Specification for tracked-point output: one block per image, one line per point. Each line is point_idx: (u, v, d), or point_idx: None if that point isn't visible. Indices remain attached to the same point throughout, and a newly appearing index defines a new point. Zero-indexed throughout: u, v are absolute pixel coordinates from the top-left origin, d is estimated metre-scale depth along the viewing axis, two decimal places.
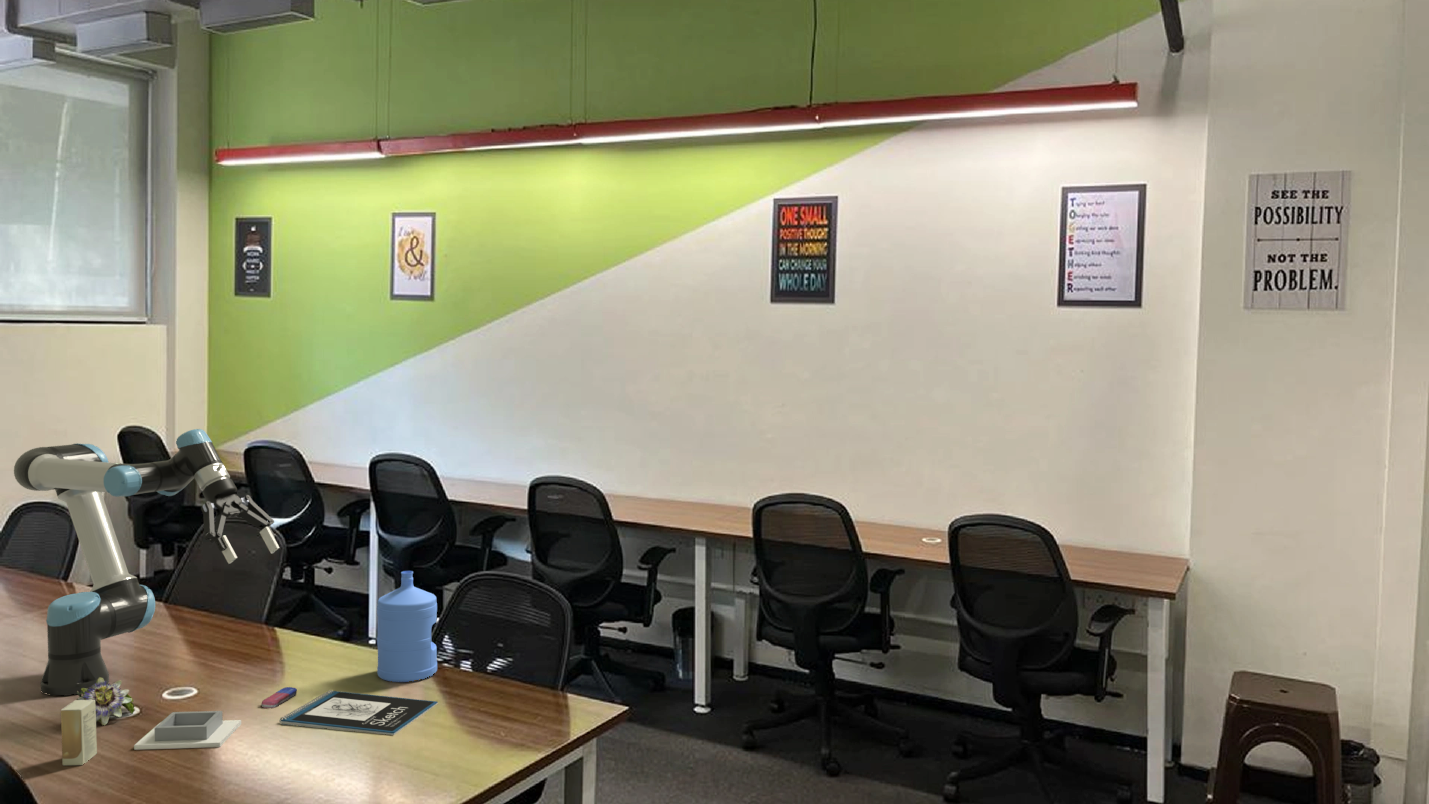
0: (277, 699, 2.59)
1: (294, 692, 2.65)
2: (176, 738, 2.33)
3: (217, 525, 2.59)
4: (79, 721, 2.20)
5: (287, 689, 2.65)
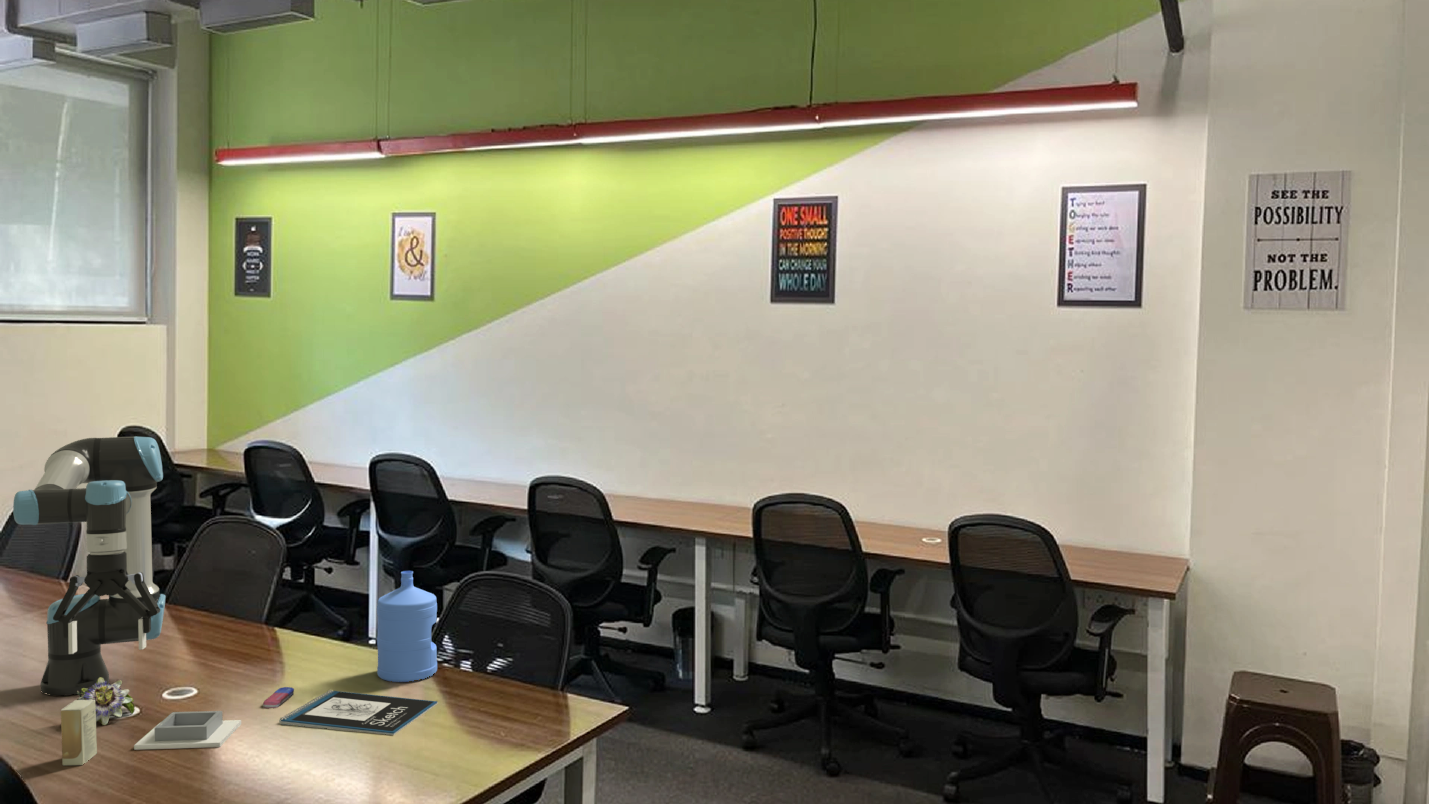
0: (279, 699, 2.59)
1: (292, 691, 2.66)
2: (176, 738, 2.33)
3: None
4: (79, 721, 2.20)
5: (284, 689, 2.66)
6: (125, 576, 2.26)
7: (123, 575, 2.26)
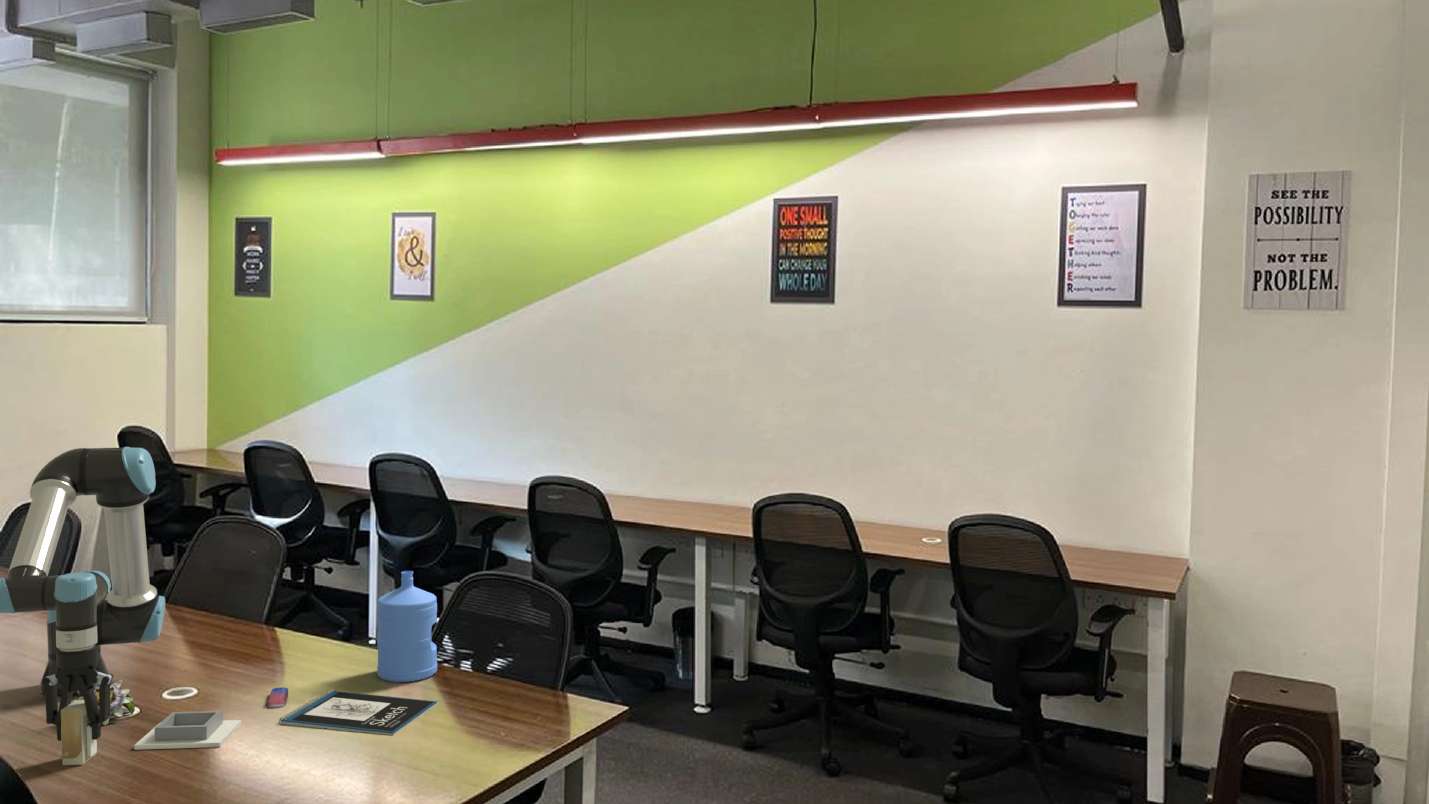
0: (282, 698, 2.60)
1: (287, 691, 2.66)
2: (176, 738, 2.33)
3: None
4: (79, 721, 2.20)
5: (279, 689, 2.65)
6: (95, 674, 2.22)
7: (94, 672, 2.22)
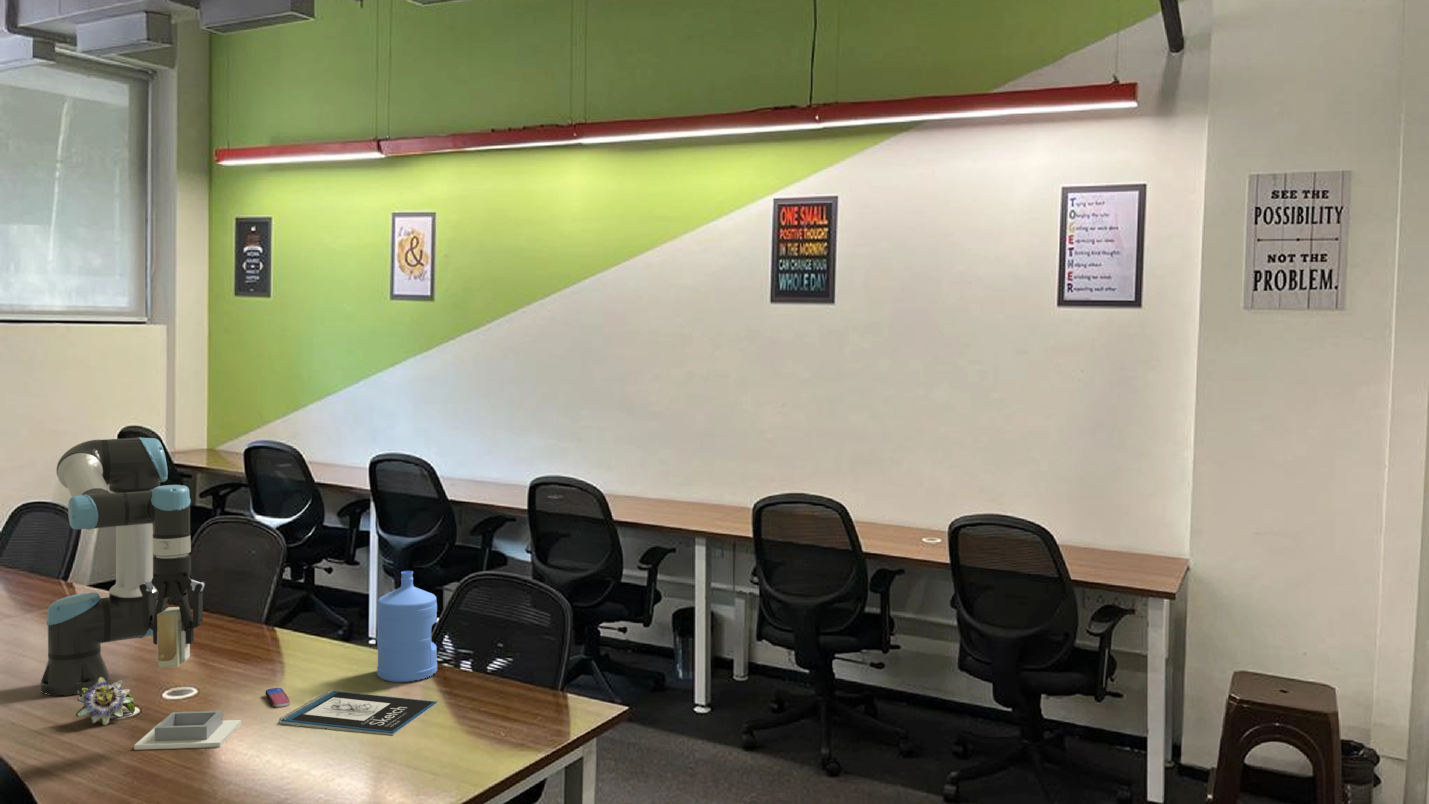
0: (285, 697, 2.60)
1: None
2: (176, 738, 2.33)
3: None
4: (174, 625, 2.31)
5: (274, 690, 2.65)
6: (189, 581, 2.33)
7: (188, 579, 2.33)
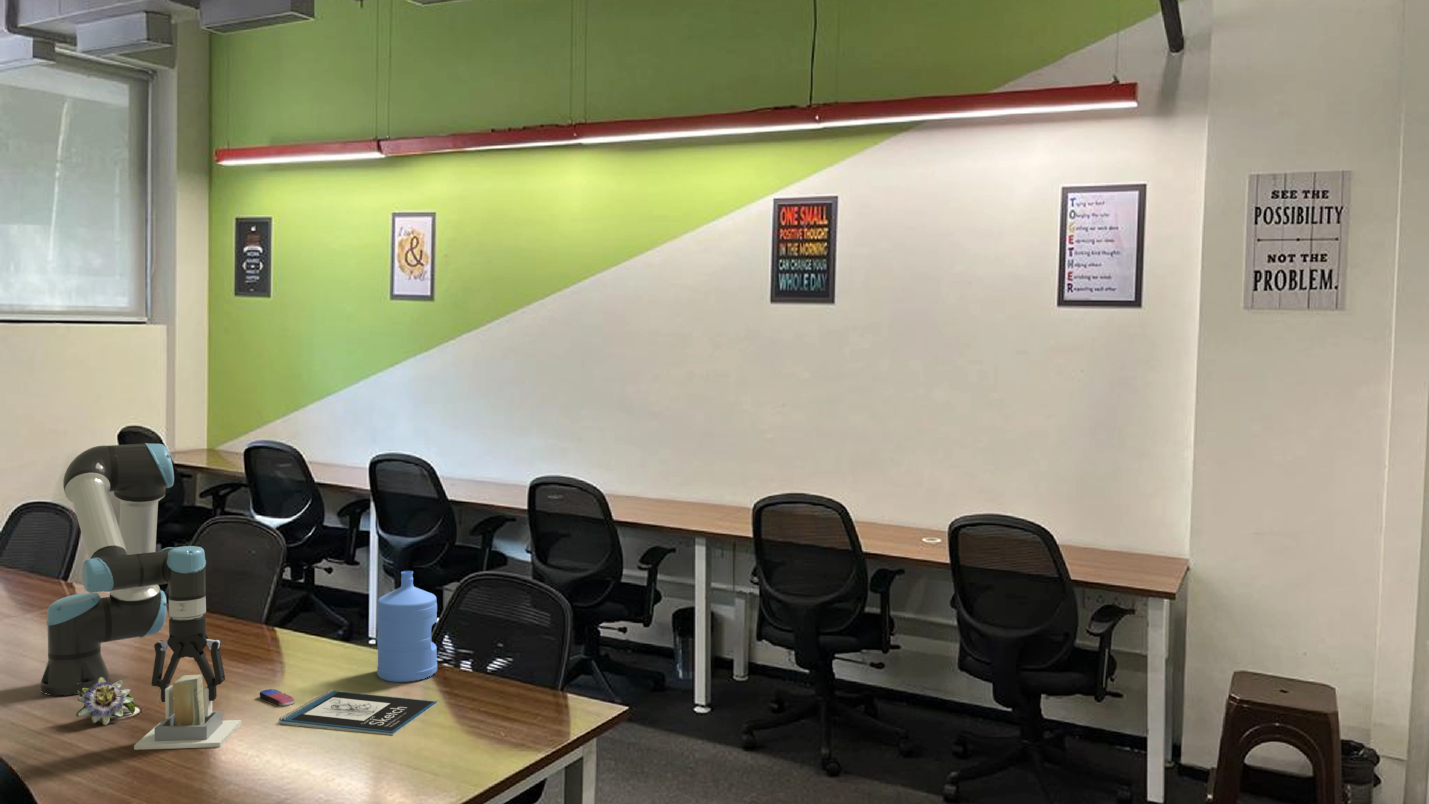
0: (288, 696, 2.61)
1: None
2: (176, 738, 2.33)
3: None
4: (190, 694, 2.34)
5: (269, 691, 2.64)
6: (204, 641, 2.36)
7: (203, 639, 2.36)
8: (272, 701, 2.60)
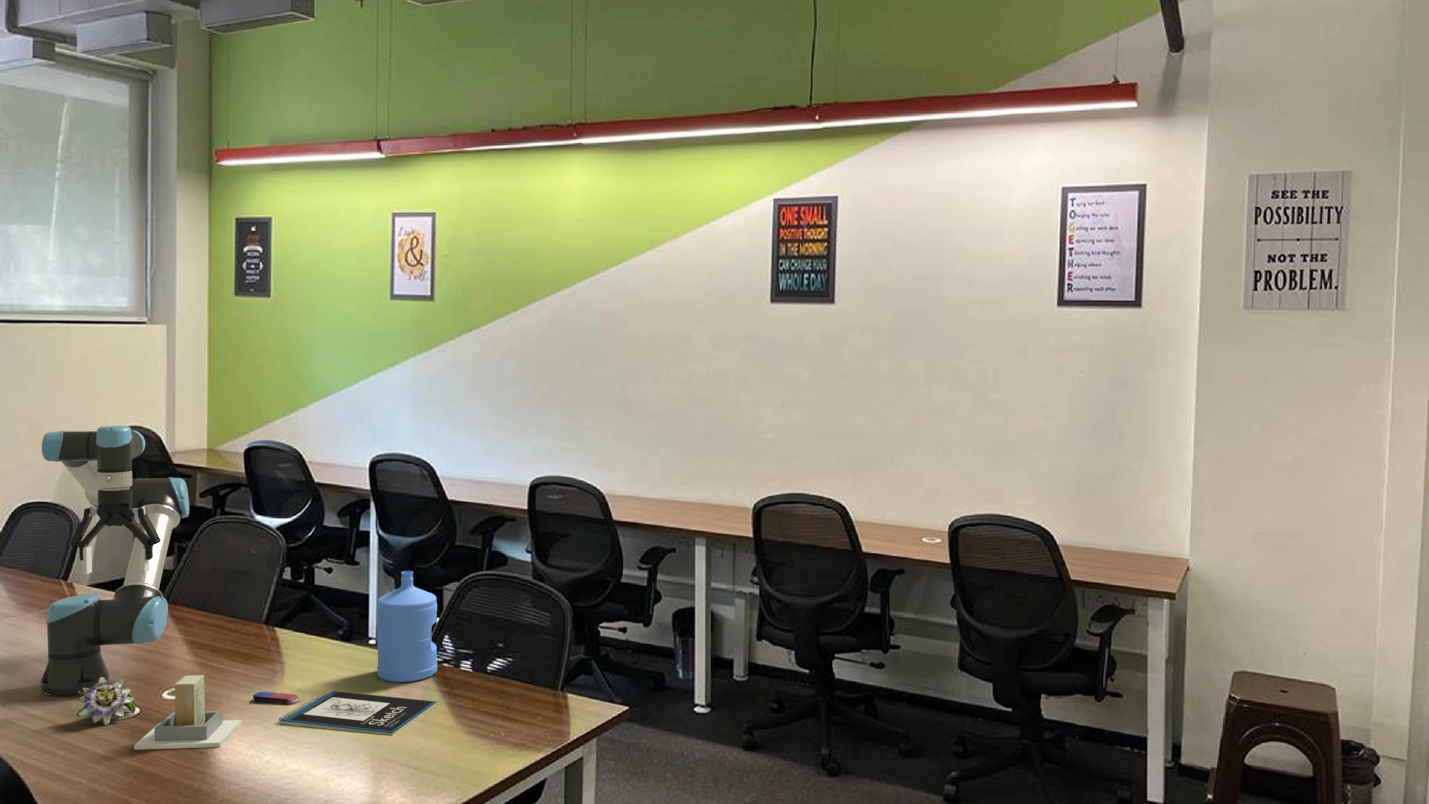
0: (290, 694, 2.63)
1: None
2: (176, 738, 2.33)
3: None
4: (192, 695, 2.34)
5: (263, 693, 2.62)
6: (130, 510, 2.59)
7: (128, 509, 2.59)
8: (276, 701, 2.60)
